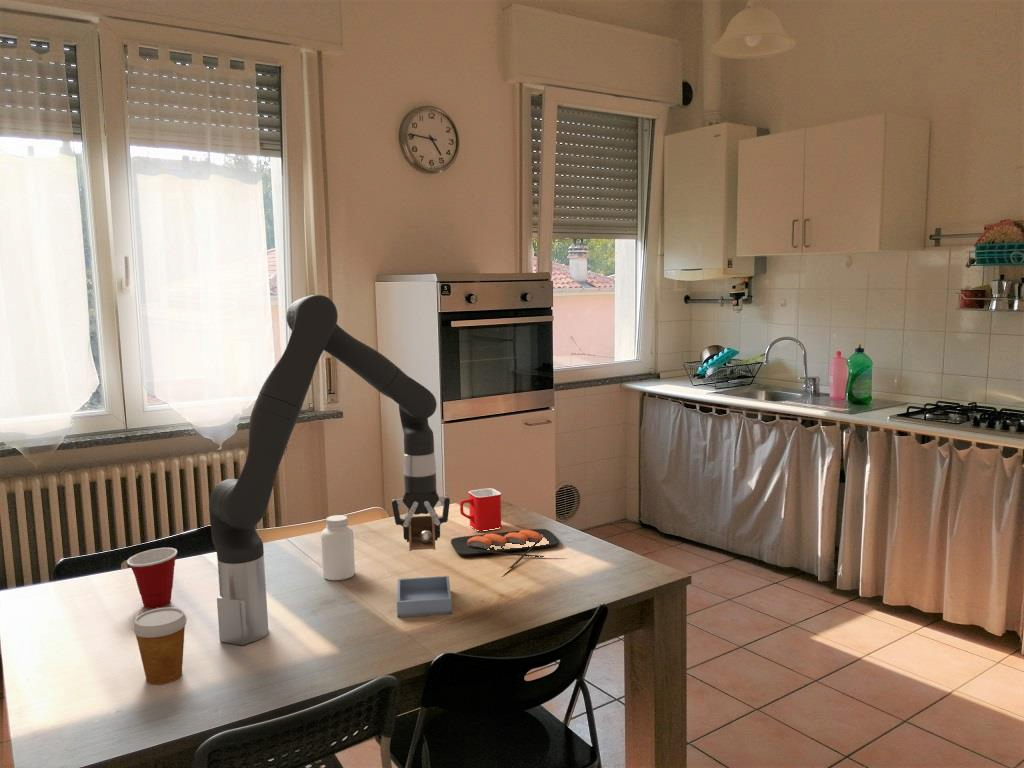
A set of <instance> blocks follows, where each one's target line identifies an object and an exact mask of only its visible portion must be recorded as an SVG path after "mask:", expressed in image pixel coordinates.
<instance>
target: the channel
mask: <svg viewBox="0 0 1024 768" xmlns="http://www.w3.org/2000/svg"><path fill="white" fill-rule="evenodd" d="M424 530H428V531H430V532H431V533H432V540H431V541H430V542H429V543H423V542H422V541H421V540H420V534H421V532H422V531H424ZM408 545H409V547H408V548H409V552H412V551H417V550H436V541H435V524H434V521H433V519H432V518H431V516H430V515H418V516H414V515H413V517H412V519H411V520H410V523H409V542H408Z"/></svg>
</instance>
